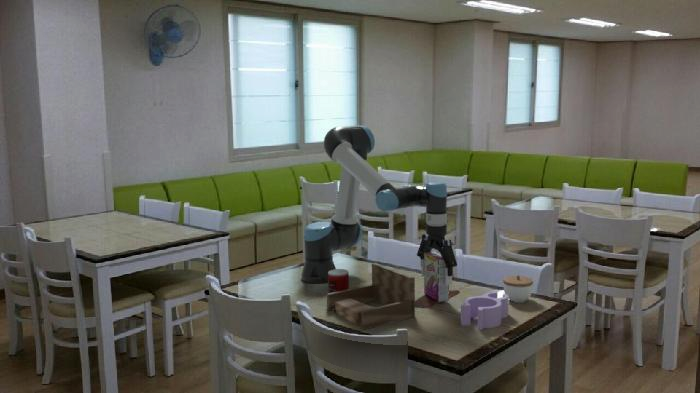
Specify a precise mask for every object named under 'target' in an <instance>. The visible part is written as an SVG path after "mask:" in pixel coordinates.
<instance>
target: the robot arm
mask: <svg viewBox="0 0 700 393" xmlns="http://www.w3.org/2000/svg"><path fill="white" fill-rule="evenodd" d="M375 145H376V142H375V135H374V134H373V132H372V130H371V129H370V128H369V127H368V126H366V125H358V124H355V125H346V126H336V127H333V128H331V129H329V130H328V132H327V133H326V134H325V136H324V139H323V149H324V151H325V153H326V155H327V156H328V158H330V160H332V161H333V162H334V163H335V164H339V165H340V166H341V167H340V176H339V183H338V184H339V186H338V192H337V202H336V208H335V214H333V215H332V216H331V221H316V222H313V223H309V224H308V225H306V226H305V228H304V230H303V234H304V235H303V239H304V263H303V268H302V271H301V280H302V281H303V282H305V283H310V284H324V283H325V284H326V283H327V284H328V272H329V271H331V270H334V269H337V267H336V266H335V262H334V260H333V258H334V257H333V252H337V251H340V250H341V251H342V250H344V249H345V250H346V249H351V248H353V247H355V246H357V245H358V244H359V243H361V240H362V239H363V229H362V225H361V223H360V222H359V218H358V217H357V216H356V215H357V210H358V209H357V208H358V200H359V193H360V187H361V186H360V185H362V186H363V187H364V188H365V189H366V190H367V191H368V192H369V193H370V194H371V195H372V196H373V197H374V200H375V201H374V202H375V205H376V206H377V208H378V209H379V210H380V211H382V212H391V211H395V210H401V209H404V208H410V207H415V206H417V207H425V215H426V216H425V220H426V222H425V223H426V226H425V233H424V234H422V235H421V241H420V244H419V247H418V250H417V253H416V256H417V257H419V259H420V267H421V270H420V271H421V274H420V275H421V277H424V253H427V252H432V250H436V251H437V253H439V254H441V256H442V258H443V260H444V262H445V264H446V267H445V285H449V286H450V285H452V284H453V275H454V271H453V270H454V267H457V266H458V263H457V260H456V259H457V258H456V256H455V253H454V250H453V247H452V240H451V239H446V235H447V232H448V231H447V229H448V228H447V223H448V222H447V221H448V220H447V219H448V217H447V216H448V214H447V212H448V211H447V203H448V193H447V192H448V191H447V188H448V187H447V184H446V183H445V182H443V181H429V182H426V185H425V186H423V185H415V184H404V185H403V186H401V187H399V188H398V187H397V188H396V187H394V185H393V184H391V183H390V182H389V181H388V180H387V179H386V178H384V176H383V175H382V174H380V173H379V172H378V171H377V170H376V169H375V168H374V167H373V165H372V166H371V164H370V163H369V162H367V160H368V154H369V153H371V152H372V151H373V150H374V149H375Z"/></svg>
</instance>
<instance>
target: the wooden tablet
mask: <svg viewBox="0 0 700 393" xmlns="http://www.w3.org/2000/svg"><path fill="white" fill-rule="evenodd" d="M460 292H461V291H460V290H458V289H454V290H450V289H449V299H451V298H453V297H455V296H456V295H458V294H459V293H460ZM441 303H442V302H437V301H436V300H434V299H432V298H431V297H429V296H427V295H426V294H423V295H422V296H420V297H419V298H417V299H415V309H430V308H433V307H436V306H437V305H439V304H441Z"/></svg>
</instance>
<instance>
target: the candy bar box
mask: <svg viewBox="0 0 700 393" xmlns="http://www.w3.org/2000/svg"><path fill="white" fill-rule="evenodd" d="M445 267H446V264H445V262H444V260H443V258H442V256H441V254H440V252H438V251H435V250H433V251H431V252H427V253H424V276H423V278H424V280H423V281H424V282H423V288H424V289H423V293H424V294H423V295H425V294H426V295H427V296H429V297H431V298H432V299H434V300H436V301H437V302H441V303H443V302H447V301H448V302H449V301H450V298H449V290H450V284H449V285H445Z"/></svg>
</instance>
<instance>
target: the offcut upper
mask: <svg viewBox="0 0 700 393" xmlns="http://www.w3.org/2000/svg"><path fill="white" fill-rule="evenodd" d="M371 308H373V307H372V306H370V305H367V304H366V303H361V302H358V301H356V300H354V299H352V298H351V299H347V300H342V301H338V302H335V311H336V310H338V311H340V312H343V313H345V314H347V315H349V316H351V317H353V318H355V319H357V320H360V319H361V311H363V310H367V309H371Z"/></svg>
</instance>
